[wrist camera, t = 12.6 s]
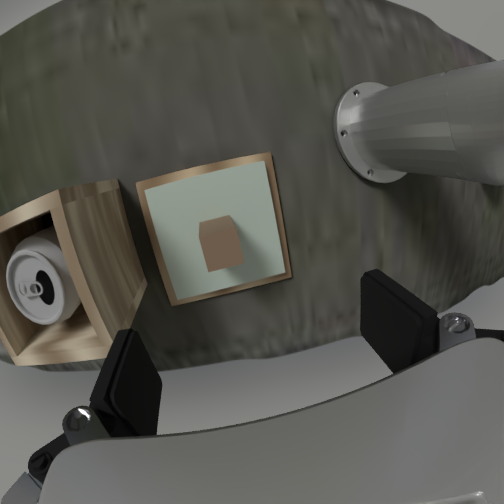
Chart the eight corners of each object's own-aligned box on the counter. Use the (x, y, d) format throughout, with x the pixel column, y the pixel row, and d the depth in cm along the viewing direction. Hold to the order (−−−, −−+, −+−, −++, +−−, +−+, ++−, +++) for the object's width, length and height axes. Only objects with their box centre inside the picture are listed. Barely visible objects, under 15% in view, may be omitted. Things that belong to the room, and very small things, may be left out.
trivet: (269, 152, 27) (270, 152, 27) (290, 275, 32) (291, 277, 31) (136, 182, 26) (135, 183, 25) (172, 303, 30) (171, 306, 30)
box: (117, 178, 25) (58, 189, 13) (147, 284, 29) (120, 355, 17) (33, 211, 24) (-39, 239, 12) (64, 303, 28) (16, 365, 16)
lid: (262, 161, 27) (281, 159, 20) (282, 269, 31) (304, 296, 24) (146, 189, 26) (128, 196, 19) (178, 296, 30) (173, 330, 23)
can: (117, 278, 28) (80, 337, 17) (63, 276, 27) (12, 328, 16) (112, 212, 26) (61, 242, 15) (56, 214, 25) (-8, 242, 14)
